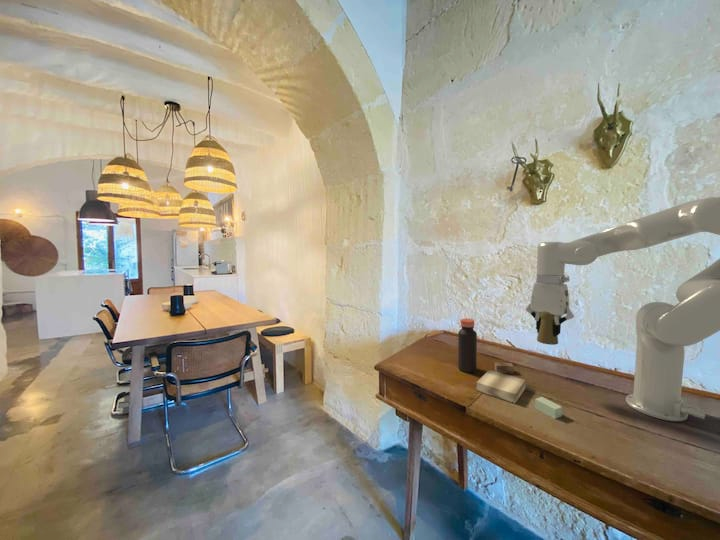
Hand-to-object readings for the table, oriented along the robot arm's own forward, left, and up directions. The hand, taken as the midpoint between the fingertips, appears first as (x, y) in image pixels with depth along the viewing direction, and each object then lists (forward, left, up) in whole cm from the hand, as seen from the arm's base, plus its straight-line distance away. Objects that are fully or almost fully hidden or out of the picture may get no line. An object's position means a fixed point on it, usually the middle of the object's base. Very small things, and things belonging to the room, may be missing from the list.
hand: (547, 333), depth 95 cm
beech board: (+9, +12, -19) cm, 25 cm away
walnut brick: (+15, -2, -19) cm, 25 cm away
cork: (0, 0, -3) cm, 3 cm away
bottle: (+25, +7, -19) cm, 33 cm away
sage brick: (-6, +14, -19) cm, 25 cm away
